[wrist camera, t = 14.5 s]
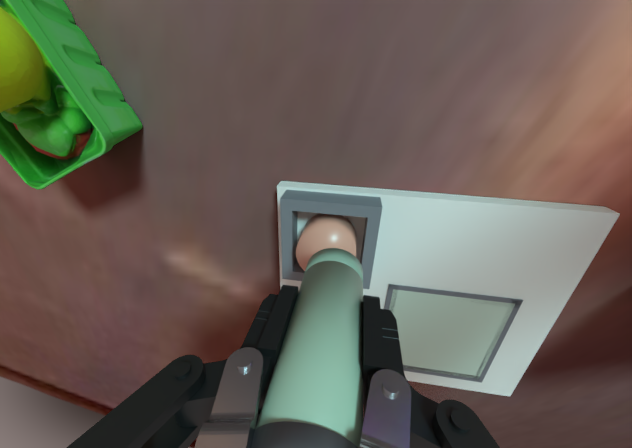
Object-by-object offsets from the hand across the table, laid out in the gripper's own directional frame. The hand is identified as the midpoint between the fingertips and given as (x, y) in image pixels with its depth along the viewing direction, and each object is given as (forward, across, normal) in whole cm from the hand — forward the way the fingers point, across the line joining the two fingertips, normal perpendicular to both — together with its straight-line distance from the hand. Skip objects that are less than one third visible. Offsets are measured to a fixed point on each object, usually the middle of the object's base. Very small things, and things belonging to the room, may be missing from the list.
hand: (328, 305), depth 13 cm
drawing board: (+9, -6, +7) cm, 13 cm away
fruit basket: (+9, +19, -9) cm, 23 cm away
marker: (+3, 0, 0) cm, 3 cm away
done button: (+8, +1, +1) cm, 8 cm away
